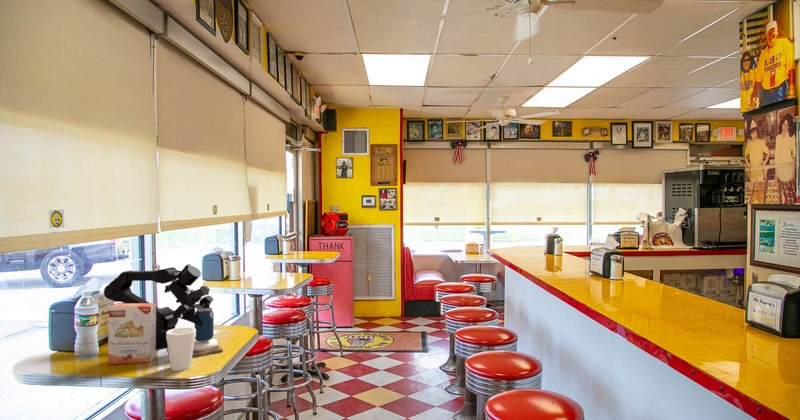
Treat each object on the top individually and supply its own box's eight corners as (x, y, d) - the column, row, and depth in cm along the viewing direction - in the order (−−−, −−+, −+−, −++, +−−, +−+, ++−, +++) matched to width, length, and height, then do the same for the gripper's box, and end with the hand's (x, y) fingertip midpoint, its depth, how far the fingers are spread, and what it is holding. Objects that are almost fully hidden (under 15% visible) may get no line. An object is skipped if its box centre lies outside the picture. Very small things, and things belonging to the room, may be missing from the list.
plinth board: (178, 360, 163) (178, 352, 163) (168, 349, 176) (168, 341, 176) (222, 351, 174) (222, 344, 174) (210, 341, 186) (210, 334, 186)
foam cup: (167, 364, 159) (167, 328, 159) (195, 361, 163) (196, 326, 163) (164, 374, 150) (165, 335, 150) (194, 370, 154) (195, 333, 154)
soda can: (217, 337, 178) (217, 308, 178) (204, 343, 171) (205, 312, 171) (203, 335, 180) (203, 306, 180) (190, 340, 174) (190, 310, 173)
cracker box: (107, 365, 157) (107, 306, 157) (114, 359, 163) (115, 303, 163) (150, 363, 160) (150, 305, 160) (156, 357, 166) (156, 302, 166)
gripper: (180, 284, 167) (206, 315, 165) (209, 276, 185) (233, 304, 184) (161, 303, 168) (187, 334, 167) (192, 293, 187) (215, 321, 185)
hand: (207, 322), depth 175 cm, fingers closed on soda can, 7 cm apart
